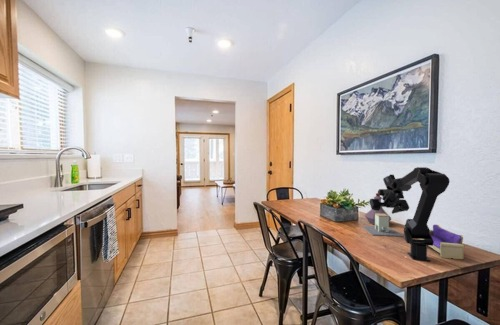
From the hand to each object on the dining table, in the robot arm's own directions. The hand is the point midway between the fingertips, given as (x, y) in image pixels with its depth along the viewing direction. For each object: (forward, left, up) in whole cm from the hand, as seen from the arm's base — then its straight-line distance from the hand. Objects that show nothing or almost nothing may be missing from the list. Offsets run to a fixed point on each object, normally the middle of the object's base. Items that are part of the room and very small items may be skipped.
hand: (383, 212), depth 130 cm
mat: (+2, 0, -12) cm, 12 cm away
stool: (+2, 0, -11) cm, 11 cm away
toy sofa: (-20, -18, -12) cm, 29 cm away
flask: (+21, -2, -12) cm, 25 cm away
